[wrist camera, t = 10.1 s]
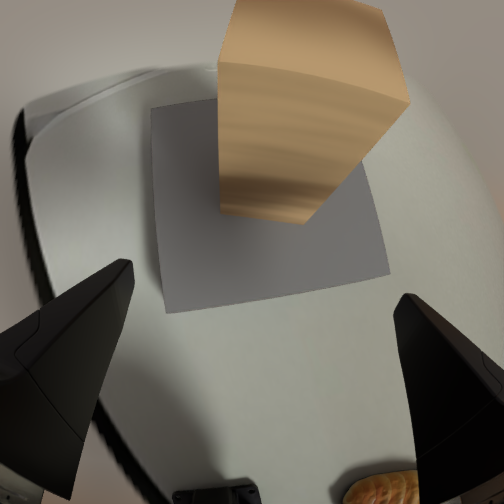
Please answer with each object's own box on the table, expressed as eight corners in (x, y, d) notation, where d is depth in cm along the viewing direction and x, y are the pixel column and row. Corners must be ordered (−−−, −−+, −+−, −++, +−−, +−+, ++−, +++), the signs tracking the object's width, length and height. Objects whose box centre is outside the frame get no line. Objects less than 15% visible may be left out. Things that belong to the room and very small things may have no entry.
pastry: (322, 518, 17) (335, 543, 13) (360, 459, 19) (381, 479, 15) (399, 521, 17) (418, 538, 13) (434, 467, 19) (457, 481, 15)
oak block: (303, 225, 18) (410, 103, 6) (220, 214, 18) (217, 61, 6) (307, 153, 19) (381, 9, 7) (231, 142, 19) (244, -21, 7)
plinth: (370, 279, 21) (390, 274, 18) (174, 312, 19) (165, 313, 16) (326, 115, 23) (337, 94, 20) (158, 130, 22) (150, 108, 19)
